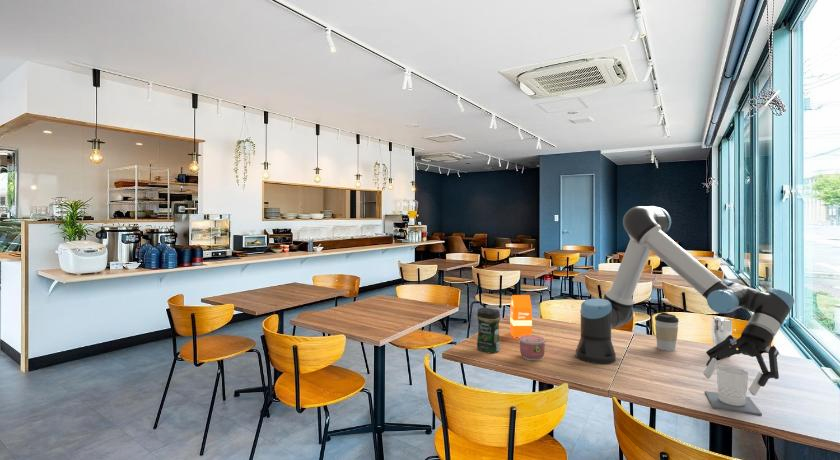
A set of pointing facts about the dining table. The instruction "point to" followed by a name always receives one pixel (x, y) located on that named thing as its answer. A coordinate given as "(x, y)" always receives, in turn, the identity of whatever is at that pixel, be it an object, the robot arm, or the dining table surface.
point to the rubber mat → (718, 404)
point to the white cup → (732, 385)
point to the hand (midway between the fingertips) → (727, 384)
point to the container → (532, 347)
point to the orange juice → (520, 316)
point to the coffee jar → (488, 330)
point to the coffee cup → (666, 331)
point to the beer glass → (721, 329)
